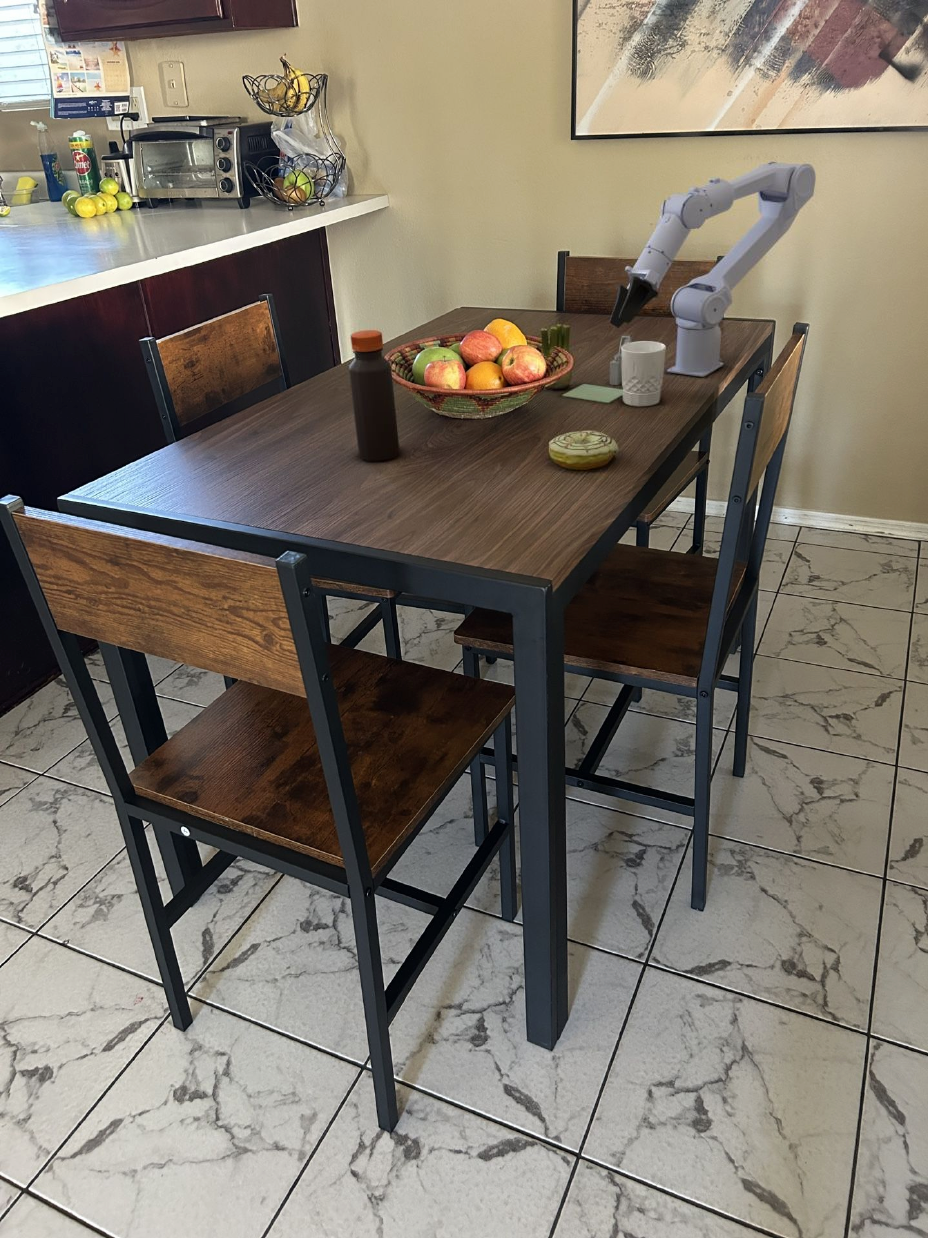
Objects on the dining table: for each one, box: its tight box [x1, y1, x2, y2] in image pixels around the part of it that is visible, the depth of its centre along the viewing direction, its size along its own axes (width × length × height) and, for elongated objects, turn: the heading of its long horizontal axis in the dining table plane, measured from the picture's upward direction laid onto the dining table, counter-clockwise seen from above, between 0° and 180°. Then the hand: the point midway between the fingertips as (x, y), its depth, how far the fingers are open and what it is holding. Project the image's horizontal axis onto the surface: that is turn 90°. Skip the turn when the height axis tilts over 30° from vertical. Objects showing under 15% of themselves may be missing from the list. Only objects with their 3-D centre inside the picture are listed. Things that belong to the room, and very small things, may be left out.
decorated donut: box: [548, 429, 619, 471], centre depth 147 cm, size 10×11×4 cm
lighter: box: [609, 335, 633, 386], centre depth 182 cm, size 7×2×8 cm, turn 150°
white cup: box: [621, 340, 667, 407], centre depth 170 cm, size 8×8×10 cm
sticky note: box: [561, 383, 623, 404], centre depth 177 cm, size 8×10×1 cm
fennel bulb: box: [540, 323, 573, 390], centre depth 179 cm, size 6×5×12 cm
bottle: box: [348, 329, 400, 463], centre depth 151 cm, size 7×7×20 cm
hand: (618, 322), depth 173 cm, fingers open, 7 cm apart
